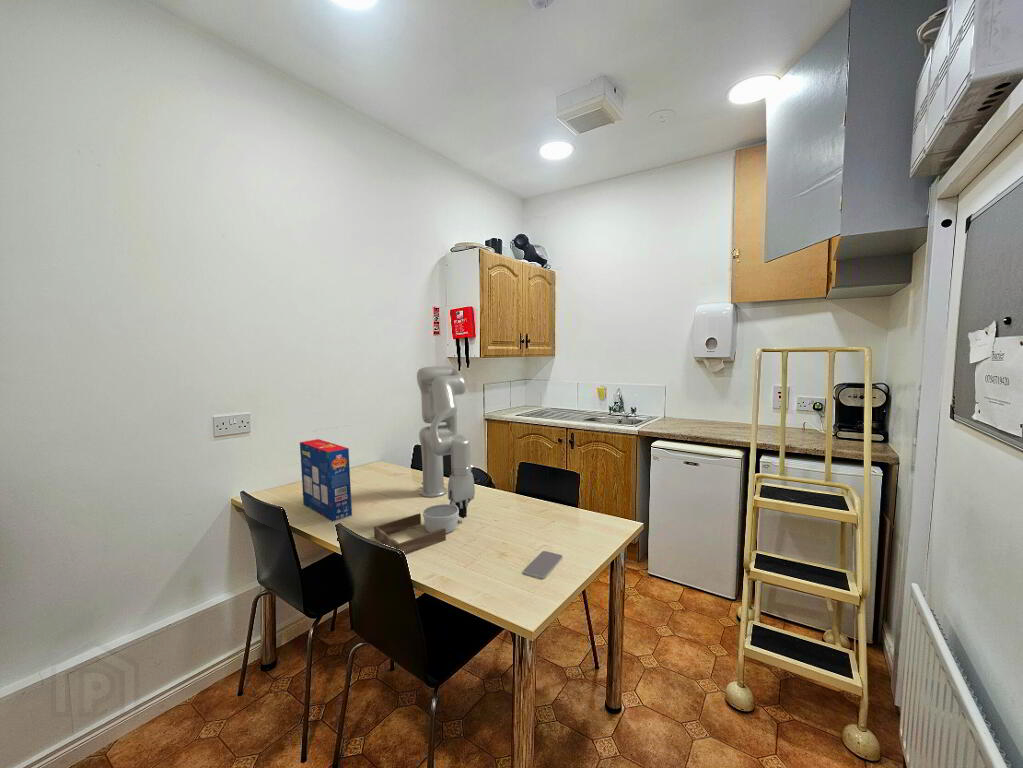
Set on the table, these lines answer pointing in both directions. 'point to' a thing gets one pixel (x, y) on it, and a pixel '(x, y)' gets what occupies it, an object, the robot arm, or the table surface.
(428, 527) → the ramekin
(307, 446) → the blue cardboard box
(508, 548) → the table surface
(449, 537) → the table surface
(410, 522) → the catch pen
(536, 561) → the smartphone
